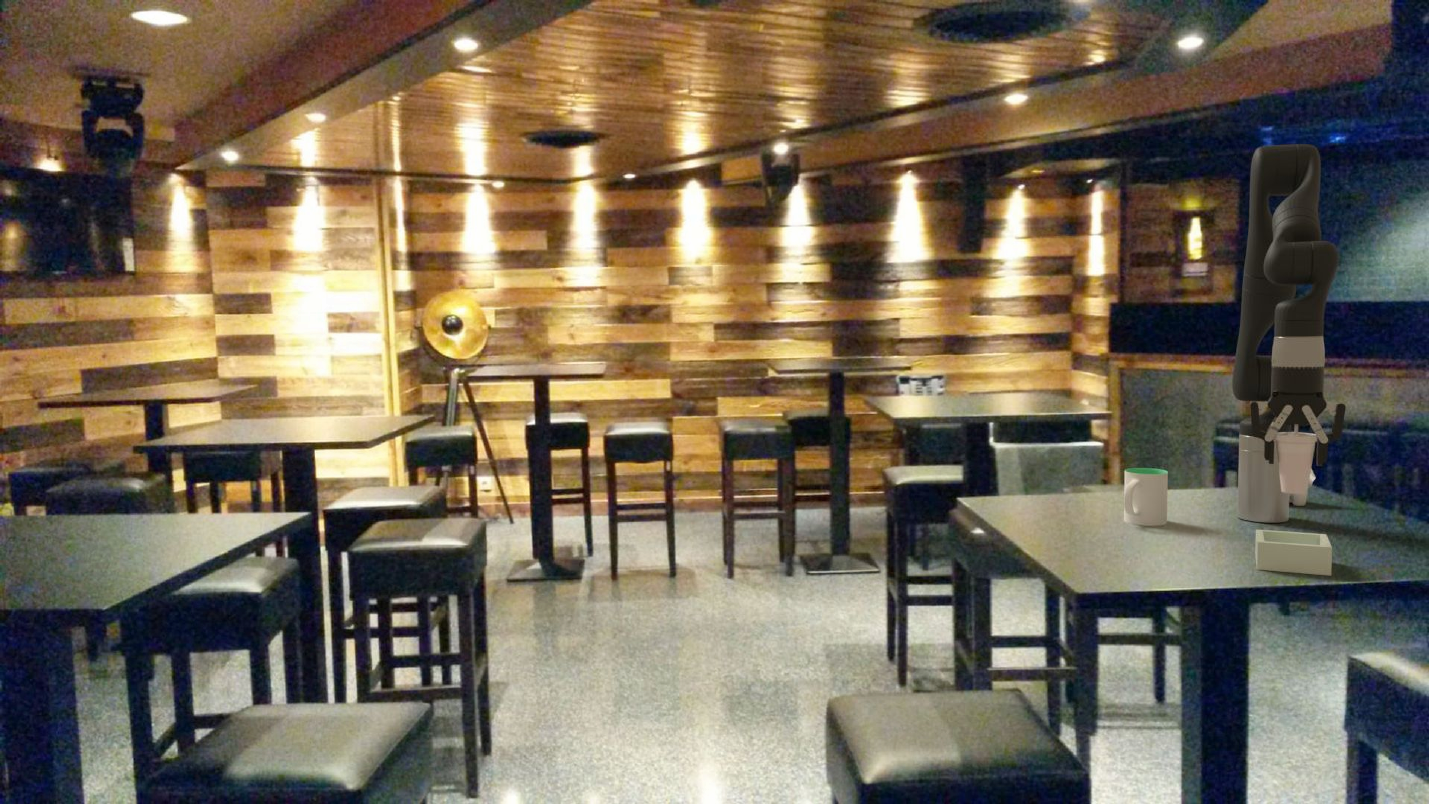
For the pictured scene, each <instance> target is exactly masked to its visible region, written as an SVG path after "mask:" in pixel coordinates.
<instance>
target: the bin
mask: <svg viewBox="0 0 1429 804" xmlns="http://www.w3.org/2000/svg"><path fill="white" fill-rule="evenodd" d="M1254 546H1255V553H1254V557H1255V563H1256V564H1255V565H1256V570H1262V571H1270V572H1271V571H1272V572H1281V573H1283V572H1284V573H1295V574H1307V575H1308V574H1309V575H1316V576H1317V575H1318V576H1319V575H1320V576H1330V577H1331V576H1332V562H1333V561H1332V560H1333V546H1332V545H1331V542H1330V540H1329V538H1328V535H1327V534H1326V533H1325V534H1324V533H1314V532H1313V533H1312V532H1297V531H1284V530H1270V529H1269V530H1268V529H1255V545H1254Z"/></svg>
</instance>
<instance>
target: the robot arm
mask: <svg viewBox="0 0 1429 804" xmlns="http://www.w3.org/2000/svg"><path fill="white" fill-rule="evenodd" d="M1250 165H1251V166H1250V179H1249V210H1248V211H1249V215H1248V216H1249V217H1248V233H1247V234H1248V235H1247V242H1246V243H1247V244H1246V252H1245V253H1246V254H1245V260H1244V266H1243V278H1242V291H1241V307H1240V308H1241V310H1240V323H1239V325H1240V326H1239V331H1238V332H1239V333H1238V338H1237V344H1236V352H1235V356H1234V357H1235V358H1234V363H1233V371H1232V379H1231V380H1232V381H1231V383H1232V385H1231V386H1232V392H1233V395H1234V396H1233V397H1234V398H1235V399H1236V400H1238V401H1242V402H1249V410H1250V411H1249V412H1250V417H1248V418H1244V419H1243V420H1241V421H1240V422H1239V432H1238V433H1239V435H1238V436H1239V439H1238V442H1239V443H1238V478H1237V479H1238V480H1237V514H1236V515H1237V518H1239V519H1242V520H1245V521H1248V522H1255V523H1286V522H1288V521H1289V518H1290V517H1289V516H1290V502H1289V493H1284V492H1282V491H1281V483H1280V473H1279V464H1278V455H1277V445H1276V440H1274V437H1275V435H1276V433H1279V432H1292V426H1294V425H1295V424H1297V425H1298V426H1301V427H1302V426H1303V427H1305V426H1306V427H1307V426H1309V425H1310V427H1311V429H1312V430H1313V432H1314V434H1316V435H1317V437H1318V441H1317V442H1316V460H1315V461H1316V466H1317V467H1322V466H1323V463H1327V461H1328V451H1329V449H1328V447H1329V446H1328V445H1329V444H1330V442H1334V441H1339V440H1340V439H1342V433H1343V427H1344V421H1345V414H1346V408H1347V407H1346V404H1345V403H1343V402H1342V401H1341V402H1329V401H1326V399H1325V396H1324V387H1325V386H1324V385H1325V384H1324V383H1325V363H1326V357H1325V354H1326V353H1325V342H1324V326H1325V325H1324V323H1325V321H1324V320H1325V309H1326V304H1327V301H1328V300H1327V299H1328V296H1329V292H1330V289H1331V286H1332V283H1333V281H1334V279H1335V275H1336V272H1337V271H1338V268H1339V264H1340V263H1339V262H1340V254H1339V251H1338V249H1337V248H1336V246H1335V245H1334V244H1333V243H1332V242H1330V241H1327V240H1322V229H1321V226H1320V225H1321V223H1320V219H1319V212H1318V211H1319V201H1320V194H1321V193H1320V190H1321V173H1322V171H1321V169H1322V168H1321V167H1322V166H1321V165H1322V164H1321V155H1320V153H1319V150H1318V148H1317V147H1316V145H1315V146H1314V145H1312V144H1307V143H1302V144H1301V143H1298V144H1297V143H1296V144H1293V143H1292V144H1278V145H1276V144H1275V145H1263V146H1258V147H1257V148H1256V149H1255V151H1254V153H1253V156H1252V159H1251V164H1250ZM1272 196H1273V197H1276V196H1277V197H1279V196H1280V197H1283V196H1288V197H1286V198H1285V199H1284V200H1282V202H1280V204H1279V205H1278V206H1277V207H1276V209H1275V211H1274V213H1273V215H1272V213H1271V209H1270V207H1269V198H1270V197H1272ZM1307 285H1310V286H1311V289H1310V291H1309V292H1308V293H1307V294H1306V295H1303V296H1302V297H1297V298H1295V296H1296V291H1297V286H1307ZM1273 325H1274V334H1273V335H1274V337H1273V344H1272V348H1271V349H1272V350H1271V352H1272V353H1271V355H1256V354H1257V352H1258V348H1259V347H1260V344H1261V342H1262V340H1263V338H1264V336H1265V335H1266V334H1267V333H1268V331H1269V330H1270V329H1271V327H1273ZM1267 408H1268V409H1267ZM1265 409H1267V410H1265ZM1326 409H1328V410H1329V412H1328V413H1329V414H1330V416H1333V421H1332V427H1331V432H1327V433H1325V430H1323V428H1322V425H1321V424H1320V422H1319V420H1318V417H1319V416H1321V414H1322V413H1323V412H1324V411H1325V410H1326Z"/></svg>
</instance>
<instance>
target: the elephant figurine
mask: <svg viewBox="0 0 1429 804" xmlns="http://www.w3.org/2000/svg"><path fill="white" fill-rule="evenodd" d="M1315 480H1316V475H1315V473H1314V470H1313V469H1312V467H1311V472H1310V478H1309V484H1308V489H1309V488H1311V487H1312V486H1313V482H1314V481H1315ZM1307 499H1308V492H1307V493H1305V494H1291V493H1289V503H1292V504H1293V506H1298V507H1303V506H1305V505H1306V503H1307Z"/></svg>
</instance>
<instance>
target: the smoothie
mask: <svg viewBox="0 0 1429 804" xmlns="http://www.w3.org/2000/svg"><path fill="white" fill-rule="evenodd" d="M1293 426H1294V429H1293V430H1294V431H1291V432H1279V433H1276V435H1275V437H1274V440H1276V445H1277V455H1278V464H1279V473H1280V483H1281V491H1282V492H1284V493H1291V494H1305V493H1307V494H1308V490H1309V488H1308V484H1309V478H1310V472H1311V468H1312V466H1313V465H1312V464H1313V461H1314V460H1313V459H1314V456H1315V455H1314V454H1315V448H1316V445H1317V442H1319V439H1318V437H1317V435H1316V434H1315V433H1309V432H1301V431H1300V432H1299V425H1297V424H1295V425H1293Z"/></svg>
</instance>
